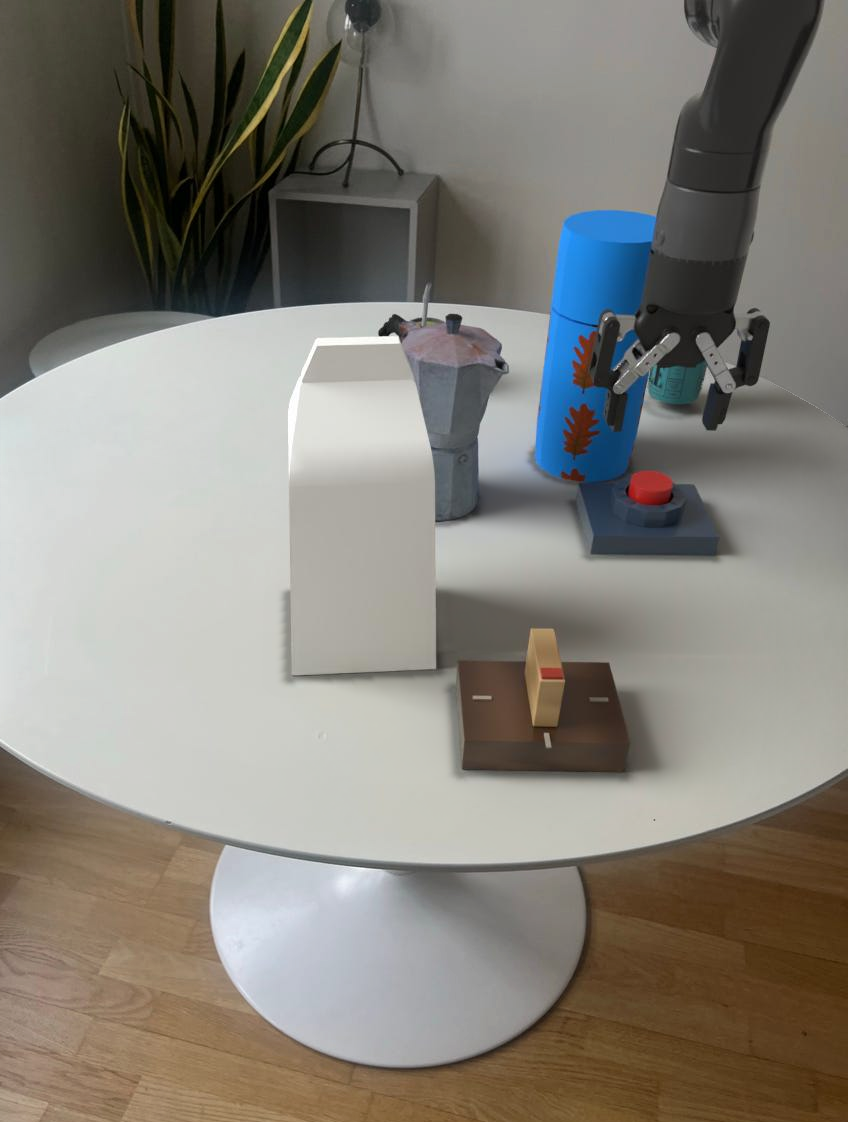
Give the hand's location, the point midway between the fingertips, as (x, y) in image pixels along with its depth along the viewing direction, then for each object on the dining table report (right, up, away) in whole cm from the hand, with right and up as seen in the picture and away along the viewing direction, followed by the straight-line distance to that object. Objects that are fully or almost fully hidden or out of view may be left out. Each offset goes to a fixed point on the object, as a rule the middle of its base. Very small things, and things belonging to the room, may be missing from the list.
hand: (661, 427), depth 87 cm
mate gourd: (-19, +13, +35) cm, 42 cm away
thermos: (-3, +1, +21) cm, 21 cm away
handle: (-13, -24, -14) cm, 31 cm away
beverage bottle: (+11, +10, +32) cm, 35 cm away
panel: (-14, -26, -12) cm, 32 cm away
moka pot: (-20, -5, +14) cm, 25 cm away
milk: (-27, -18, -3) cm, 33 cm away
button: (+1, -5, +8) cm, 9 cm away
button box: (+1, -8, +10) cm, 13 cm away
